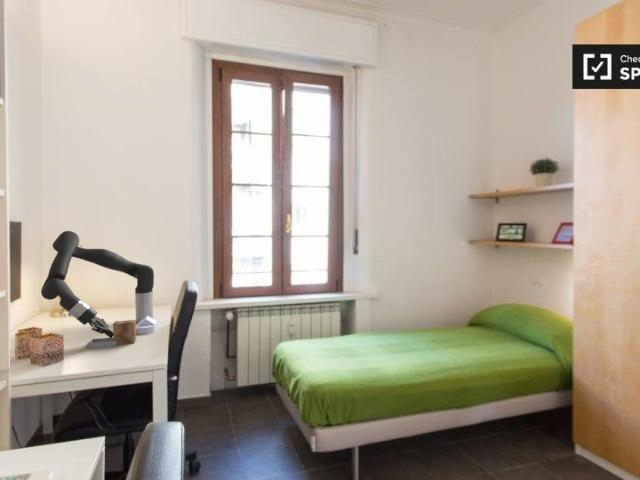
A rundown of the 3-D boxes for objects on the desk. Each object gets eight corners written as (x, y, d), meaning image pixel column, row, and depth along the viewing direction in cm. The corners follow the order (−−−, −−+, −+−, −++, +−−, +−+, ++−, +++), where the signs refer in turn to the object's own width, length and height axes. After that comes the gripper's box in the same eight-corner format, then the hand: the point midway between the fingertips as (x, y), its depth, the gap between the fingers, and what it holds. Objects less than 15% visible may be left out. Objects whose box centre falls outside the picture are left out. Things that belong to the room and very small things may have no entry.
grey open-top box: (87, 348, 173) (87, 343, 173) (92, 342, 180) (91, 338, 180) (116, 345, 176) (116, 341, 176) (119, 340, 184) (119, 336, 184)
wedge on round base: (138, 328, 206) (135, 335, 194) (138, 316, 206) (135, 322, 193) (156, 327, 209) (154, 333, 197) (156, 315, 209) (154, 320, 196)
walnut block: (113, 344, 177) (112, 323, 177) (115, 341, 182) (115, 321, 182) (134, 343, 180) (133, 322, 180) (136, 340, 185) (135, 319, 184)
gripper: (81, 315, 181) (110, 338, 185) (71, 322, 168) (103, 346, 172) (93, 303, 182) (121, 326, 186) (85, 309, 169) (115, 334, 173)
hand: (112, 336), depth 179 cm, fingers closed
